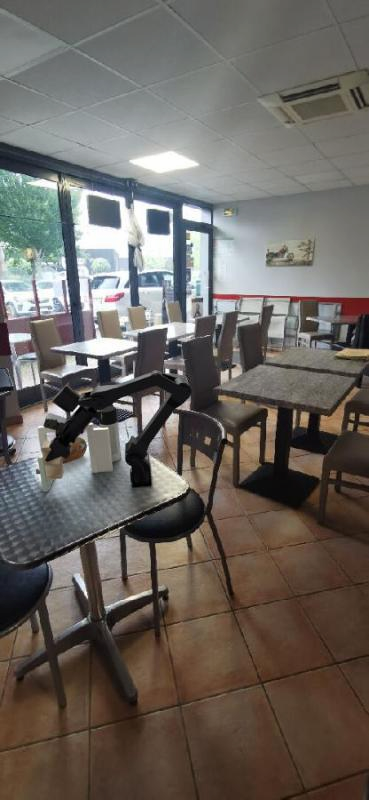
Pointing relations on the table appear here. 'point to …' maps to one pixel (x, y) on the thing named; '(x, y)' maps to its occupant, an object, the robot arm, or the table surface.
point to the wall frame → (90, 446)
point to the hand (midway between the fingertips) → (47, 457)
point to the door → (43, 474)
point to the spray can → (112, 431)
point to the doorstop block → (52, 463)
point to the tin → (76, 450)
